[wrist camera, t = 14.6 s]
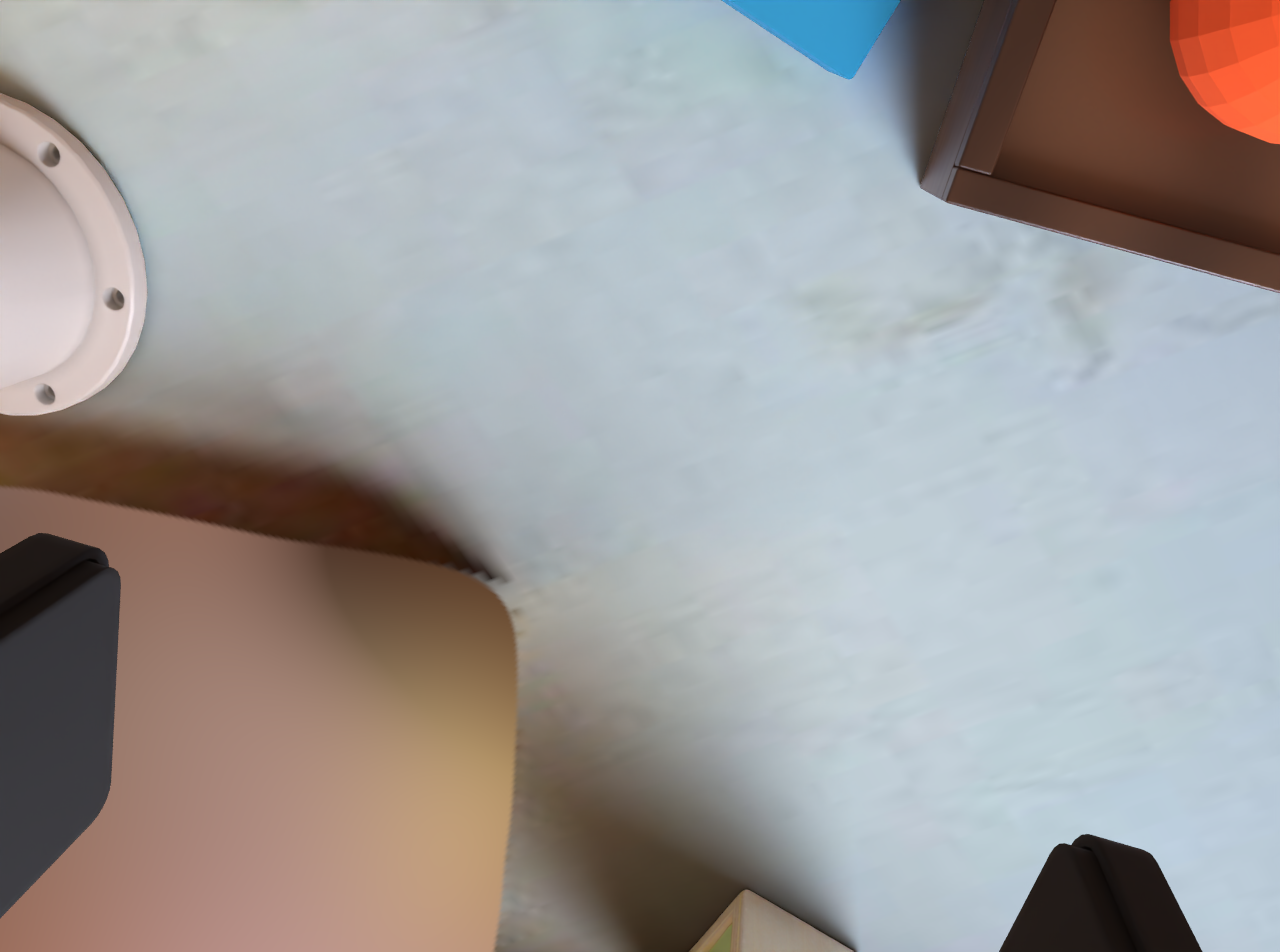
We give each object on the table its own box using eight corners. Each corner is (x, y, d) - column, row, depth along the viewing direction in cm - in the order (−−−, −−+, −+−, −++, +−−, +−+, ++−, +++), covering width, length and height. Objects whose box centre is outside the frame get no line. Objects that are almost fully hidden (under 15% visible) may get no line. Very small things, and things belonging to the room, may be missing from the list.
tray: (919, 187, 33) (945, 202, 28) (1073, -260, 29) (1140, -345, 23) (1293, 289, 33) (1393, 324, 28) (1515, -149, 28) (1688, -210, 23)
